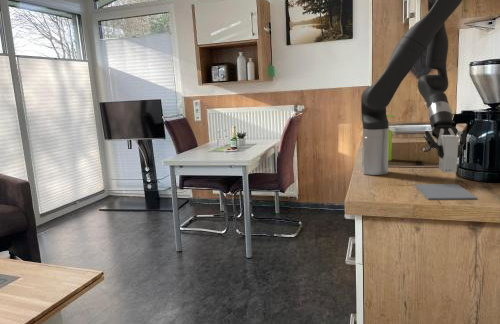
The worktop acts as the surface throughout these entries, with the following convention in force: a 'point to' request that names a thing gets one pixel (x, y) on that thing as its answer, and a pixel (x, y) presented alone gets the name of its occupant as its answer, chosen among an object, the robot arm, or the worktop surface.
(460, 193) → the rubber mat
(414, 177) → the worktop surface
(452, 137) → the skincare box
